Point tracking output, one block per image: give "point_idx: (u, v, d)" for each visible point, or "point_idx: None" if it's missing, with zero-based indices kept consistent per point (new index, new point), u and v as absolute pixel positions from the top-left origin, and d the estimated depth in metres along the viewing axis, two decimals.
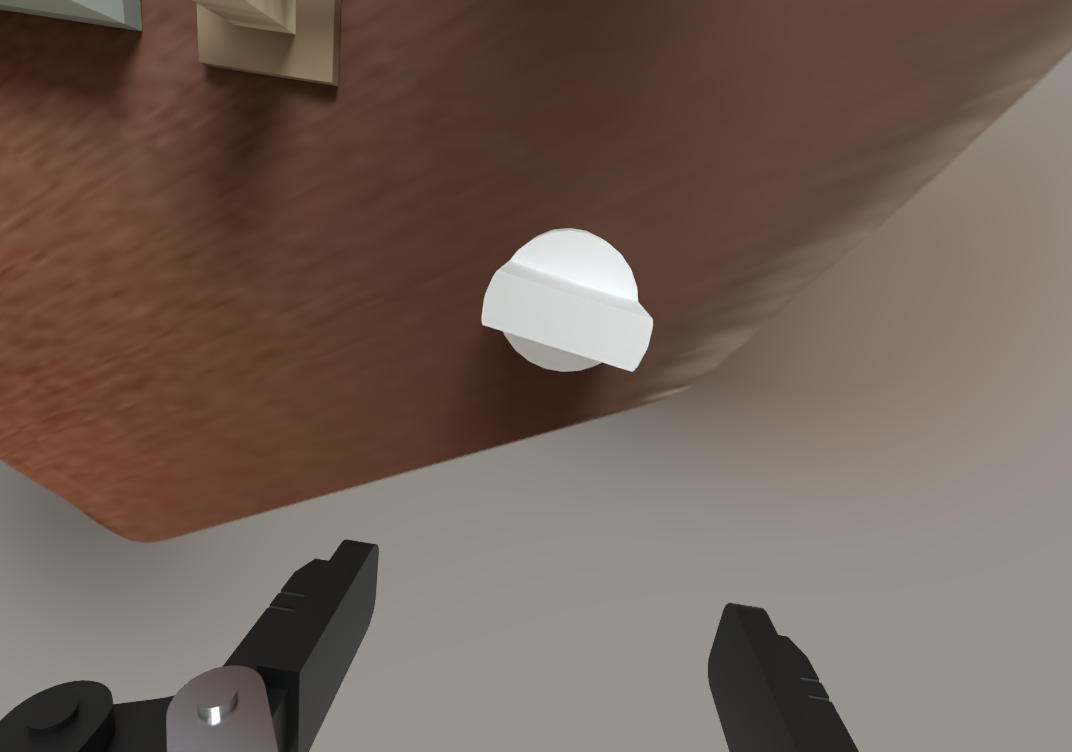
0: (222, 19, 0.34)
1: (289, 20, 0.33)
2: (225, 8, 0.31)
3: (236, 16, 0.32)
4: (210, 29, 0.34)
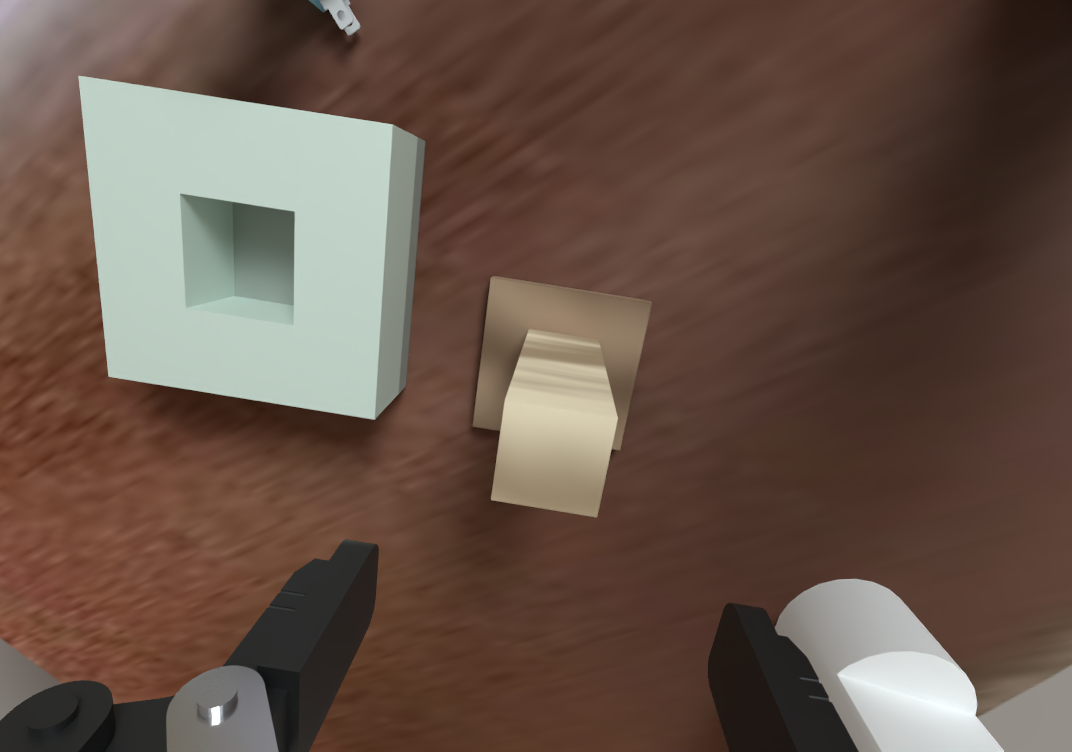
0: (505, 389, 0.31)
1: None
2: None
3: None
4: (490, 397, 0.31)
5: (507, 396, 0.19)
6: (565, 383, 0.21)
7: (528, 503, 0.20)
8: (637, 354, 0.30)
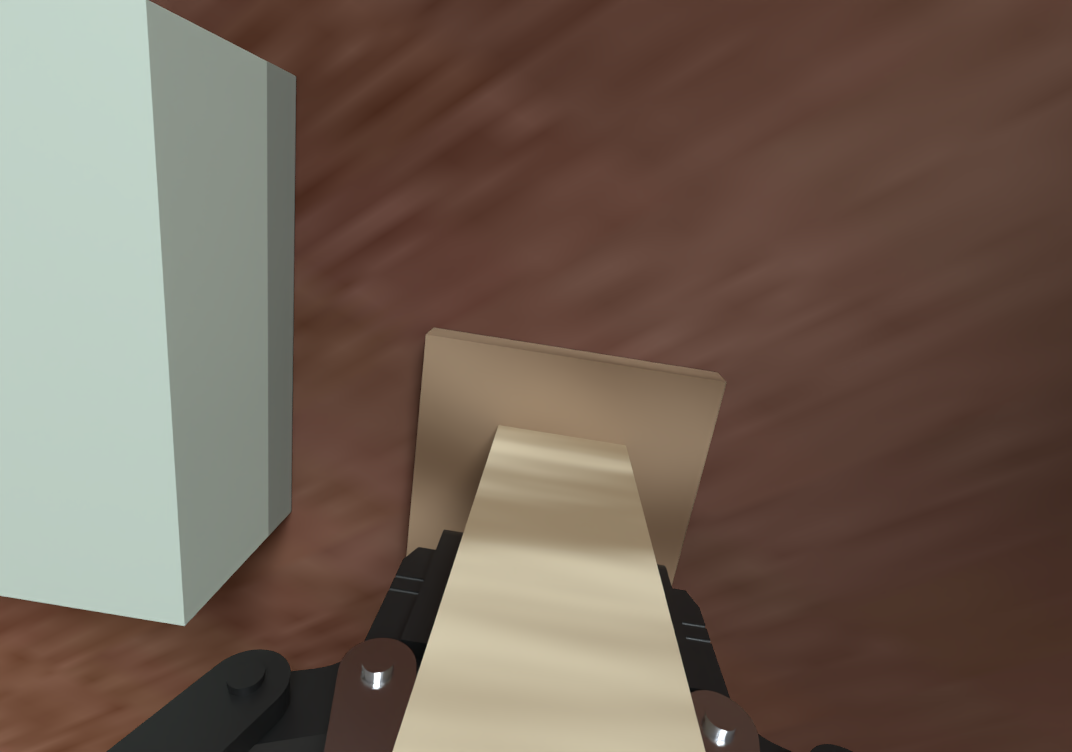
0: (459, 526, 0.17)
1: None
2: None
3: None
4: (432, 539, 0.18)
5: None
6: (566, 683, 0.08)
7: None
8: (696, 471, 0.16)
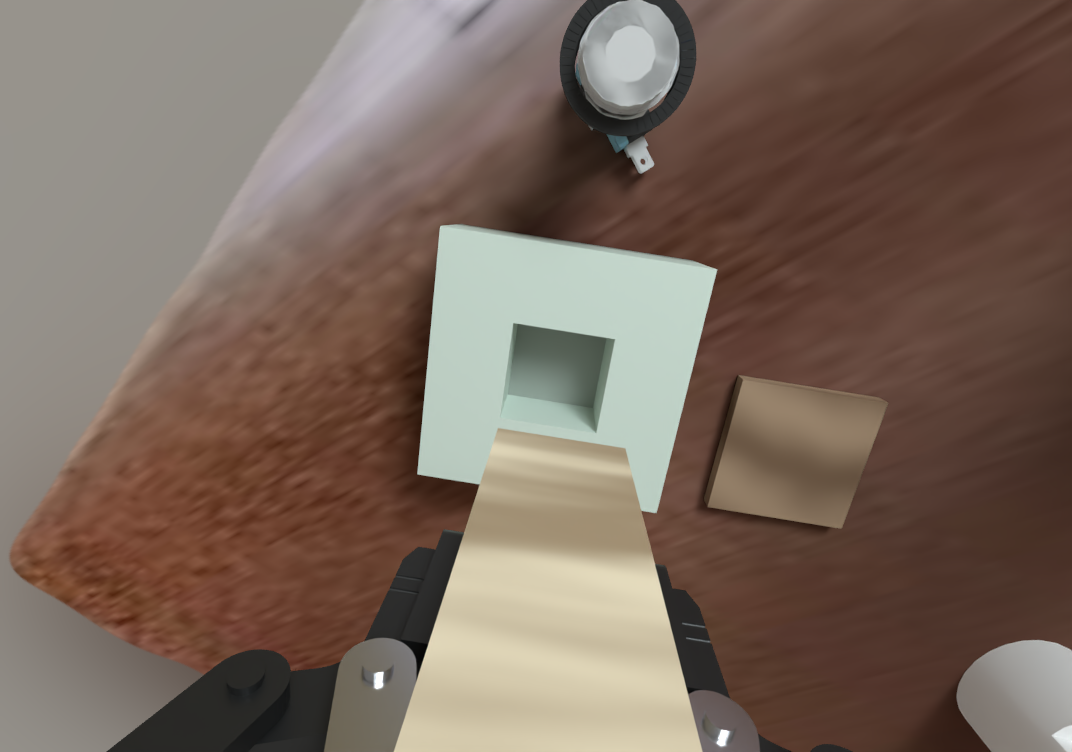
0: (743, 475, 0.34)
1: None
2: None
3: None
4: (727, 482, 0.34)
5: None
6: (564, 688, 0.08)
7: None
8: (869, 446, 0.33)
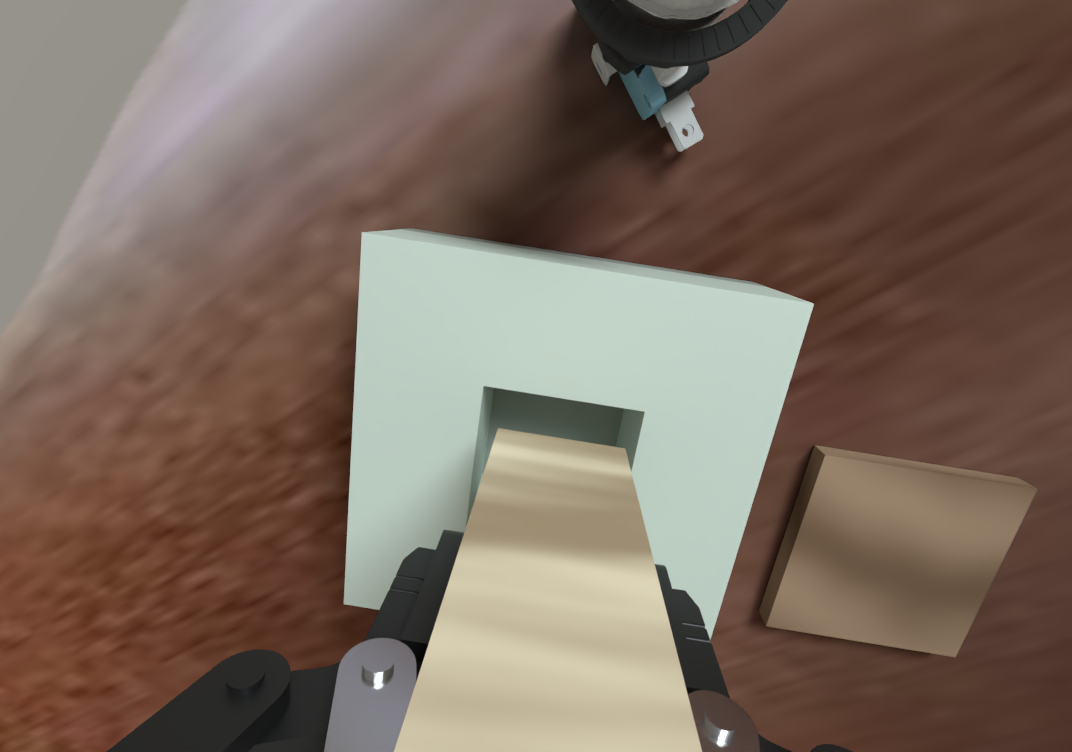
0: (819, 584, 0.24)
1: None
2: None
3: None
4: (796, 593, 0.24)
5: None
6: (565, 687, 0.08)
7: None
8: (1004, 548, 0.23)
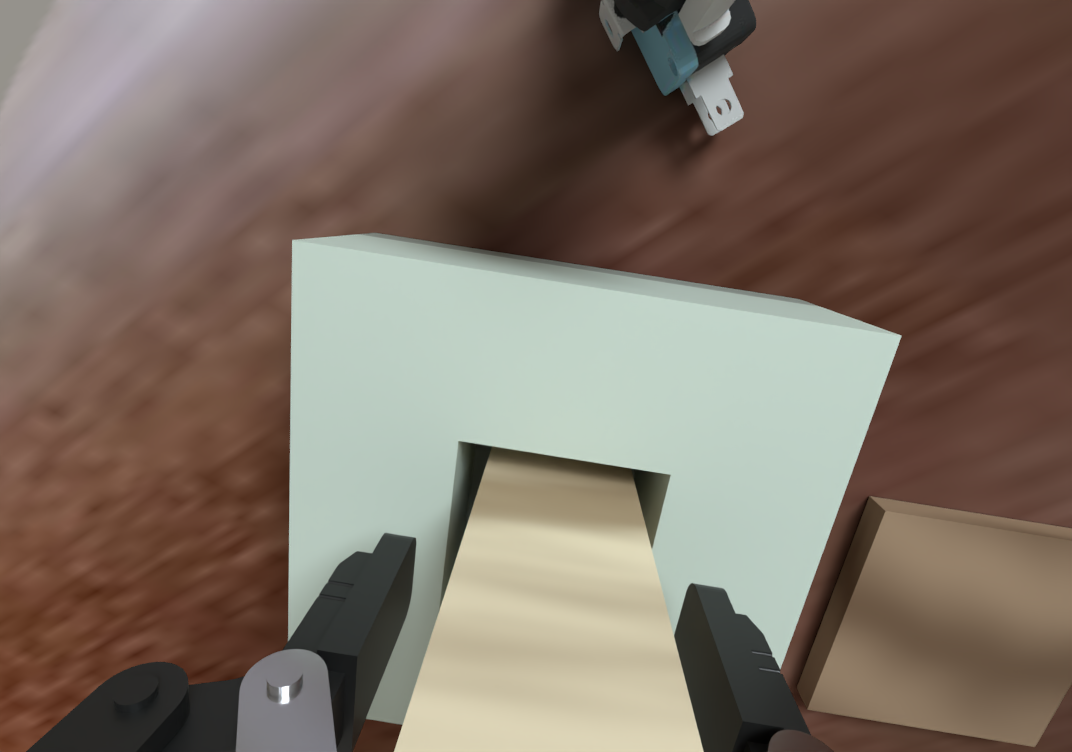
0: (873, 663, 0.20)
1: None
2: None
3: None
4: (844, 673, 0.20)
5: None
6: (565, 636, 0.09)
7: None
8: None
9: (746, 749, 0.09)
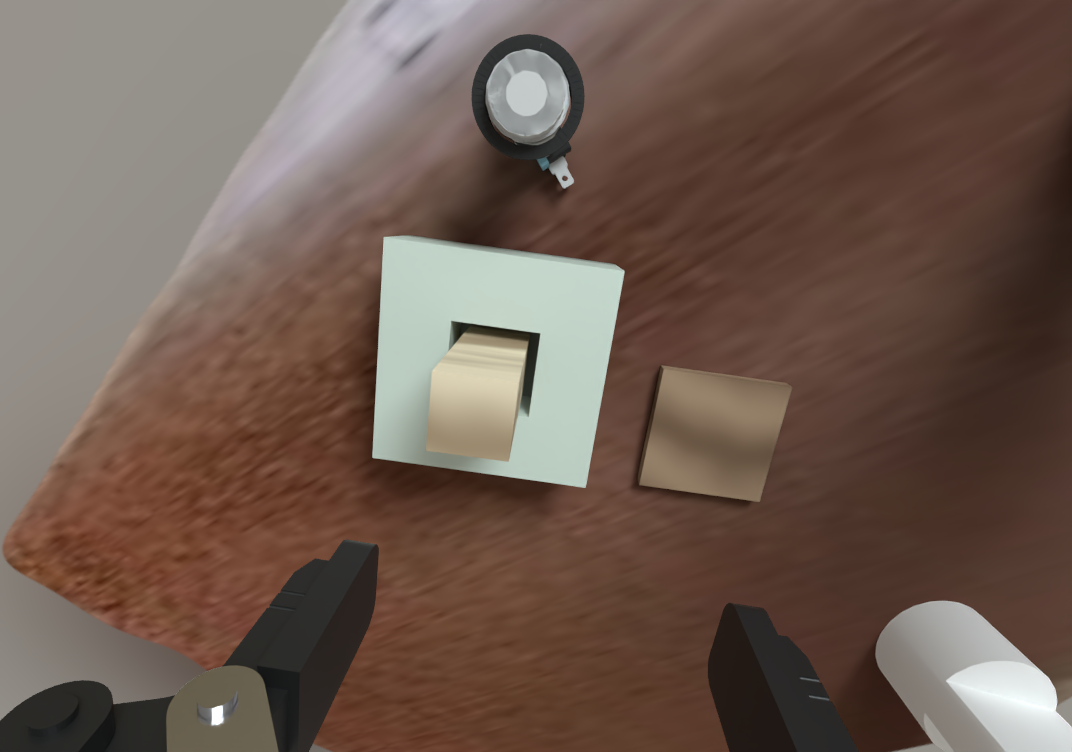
0: (669, 455, 0.38)
1: None
2: None
3: None
4: (655, 461, 0.38)
5: (435, 368, 0.24)
6: (486, 360, 0.27)
7: (455, 452, 0.25)
8: (778, 426, 0.37)
9: None
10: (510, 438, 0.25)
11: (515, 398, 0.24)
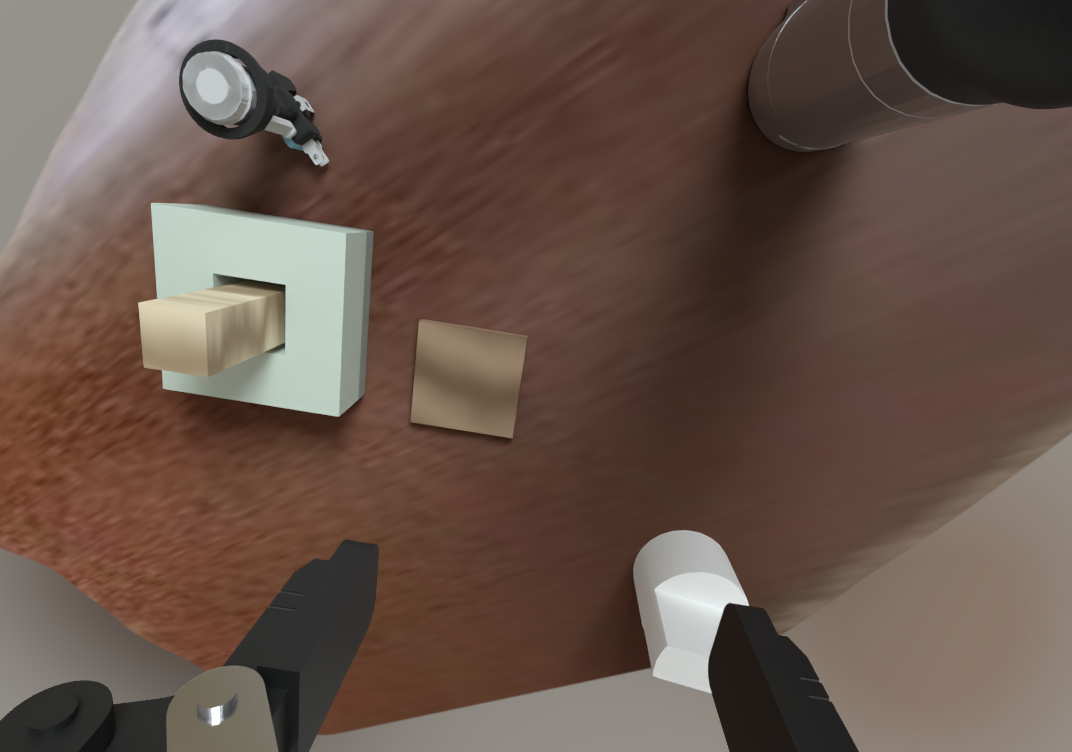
0: (432, 396, 0.45)
1: None
2: None
3: None
4: (421, 401, 0.45)
5: None
6: (206, 300, 0.34)
7: (166, 369, 0.32)
8: (519, 372, 0.44)
9: None
10: (206, 358, 0.32)
11: (204, 325, 0.31)
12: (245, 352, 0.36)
